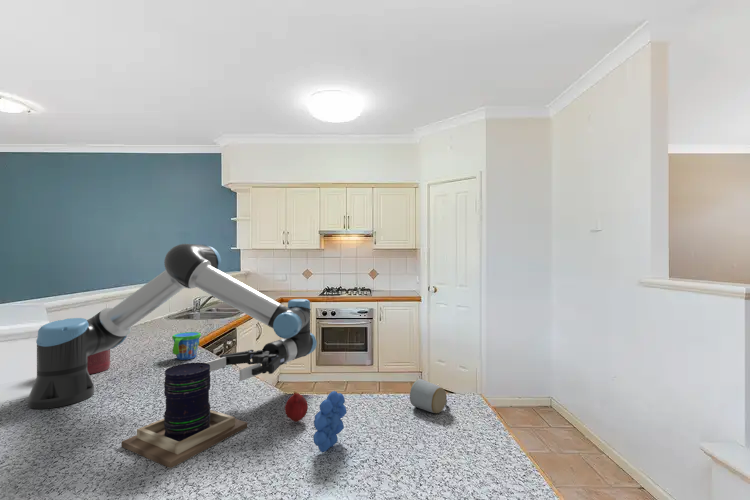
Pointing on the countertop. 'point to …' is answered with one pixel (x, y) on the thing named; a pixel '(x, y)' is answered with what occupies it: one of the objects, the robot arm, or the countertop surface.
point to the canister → (98, 362)
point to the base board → (175, 452)
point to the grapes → (329, 421)
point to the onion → (296, 407)
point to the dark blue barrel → (186, 400)
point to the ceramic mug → (428, 396)
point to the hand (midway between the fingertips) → (222, 371)
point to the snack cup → (186, 345)
